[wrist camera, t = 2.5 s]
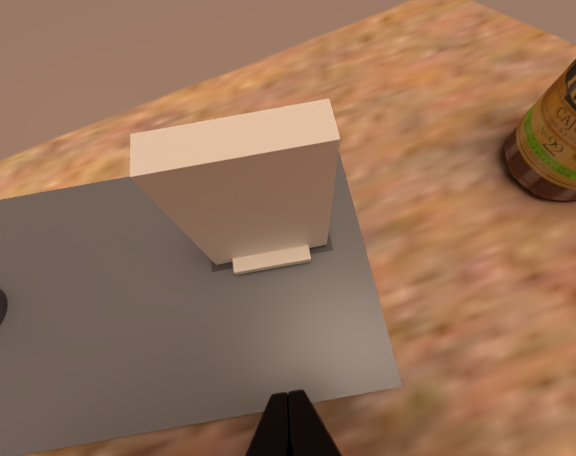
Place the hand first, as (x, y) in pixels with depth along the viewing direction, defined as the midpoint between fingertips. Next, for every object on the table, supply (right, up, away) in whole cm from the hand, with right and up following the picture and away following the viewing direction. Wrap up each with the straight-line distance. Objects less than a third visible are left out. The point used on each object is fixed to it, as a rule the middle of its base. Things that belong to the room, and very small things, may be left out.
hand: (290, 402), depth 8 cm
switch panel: (-9, 0, +12) cm, 15 cm away
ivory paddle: (-1, +4, +9) cm, 10 cm away
